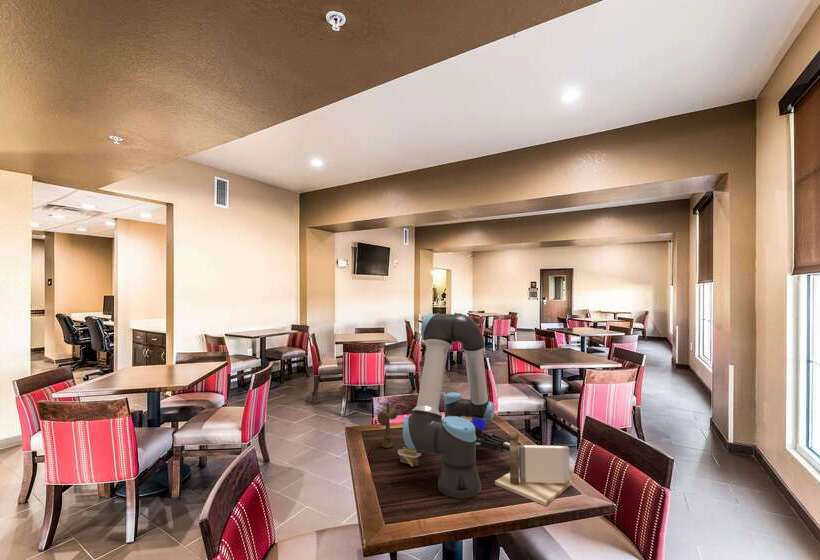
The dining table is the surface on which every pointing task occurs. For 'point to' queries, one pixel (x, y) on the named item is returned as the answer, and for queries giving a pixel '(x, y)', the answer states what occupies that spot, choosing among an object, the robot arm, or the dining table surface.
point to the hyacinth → (479, 422)
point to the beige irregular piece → (409, 456)
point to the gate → (544, 464)
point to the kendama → (387, 424)
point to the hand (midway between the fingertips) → (519, 450)
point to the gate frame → (530, 490)
